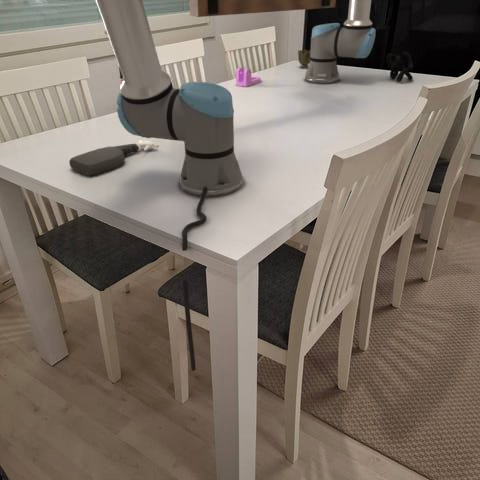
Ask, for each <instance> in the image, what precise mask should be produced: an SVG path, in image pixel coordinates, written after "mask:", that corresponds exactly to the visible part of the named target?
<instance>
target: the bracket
mask: <svg viewBox="0 0 480 480" xmlns="http://www.w3.org/2000/svg"><path fill="white" fill-rule="evenodd" d="M261 81H262V78H261V77H260V76H252V70H251V69H250V68H245V69H244V68H243V67H237V68H236V70H235V85H236V86H239V87H245V88H247V87H249V86H252V85H255V84H258V83H261Z"/></svg>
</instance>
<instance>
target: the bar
mask: <svg viewBox="0 0 480 480" xmlns="http://www.w3.org/2000/svg"><path fill="white" fill-rule="evenodd" d="M322 1H323V0H218V13H217V14H209V12H208V0H189V16H191V17H196V18H204V17H205V18H206V17H219V16H231V15H246V14H259V13H273V12H274V13H275V12H276V13H277V12H288V11H289V12H290V11H301V10H302V11H303V10H315V9H316V10H317V9H330V8H336V2H337V0H330V6H322Z"/></svg>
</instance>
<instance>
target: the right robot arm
mask: <svg viewBox="0 0 480 480" xmlns="http://www.w3.org/2000/svg"><path fill="white" fill-rule="evenodd" d="M371 5H372V0H349V3H348V13H347V19H346V20H345V21H344V22H343V25H342V26H341V24H340V23H339V22H331V23H323V24H319V25H315V26H314V27H312V30H311V37H310V50H311V54H310V63H309V64H308V67H307V68H306V72H305V75H304V80H305V81H306V82H307V83H311V84H319V85H320V84H323V85H324V84H326V85H327V84H335V83H337V82H339V81H340V74H339V73H340V72H339V69H338V64H337V59H338V58H350V59H351V58H353V59H366V58H367V57H369V56H370V54H371V51H372V50H373V47H374V43H375V39H376V32H377V29H376V28H374V27H373V22H372V20H370V16H371V15H370V14H371ZM322 6H330V0H323V1H322Z"/></svg>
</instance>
